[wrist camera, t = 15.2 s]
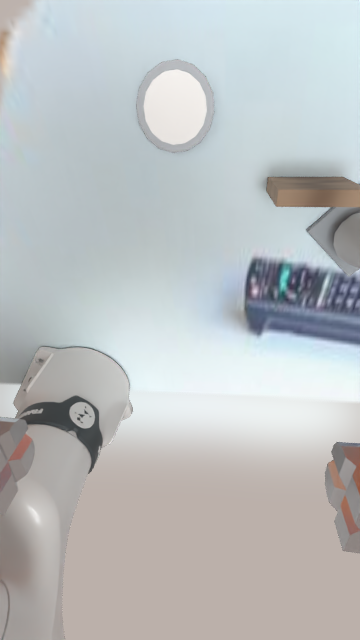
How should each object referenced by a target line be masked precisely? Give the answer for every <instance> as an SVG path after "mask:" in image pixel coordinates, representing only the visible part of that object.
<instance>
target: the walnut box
mask: <svg viewBox="0 0 360 640" xmlns="http://www.w3.org/2000/svg"><path fill="white" fill-rule="evenodd" d="M267 193H268V194H269V196H270V198H271V199H272V201H273V202H274V204H275V205H276V207H360V185H359V184H357V183H355V182H353V181H351V180H348V179H346V178H344V177H268V182H267Z"/></svg>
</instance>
